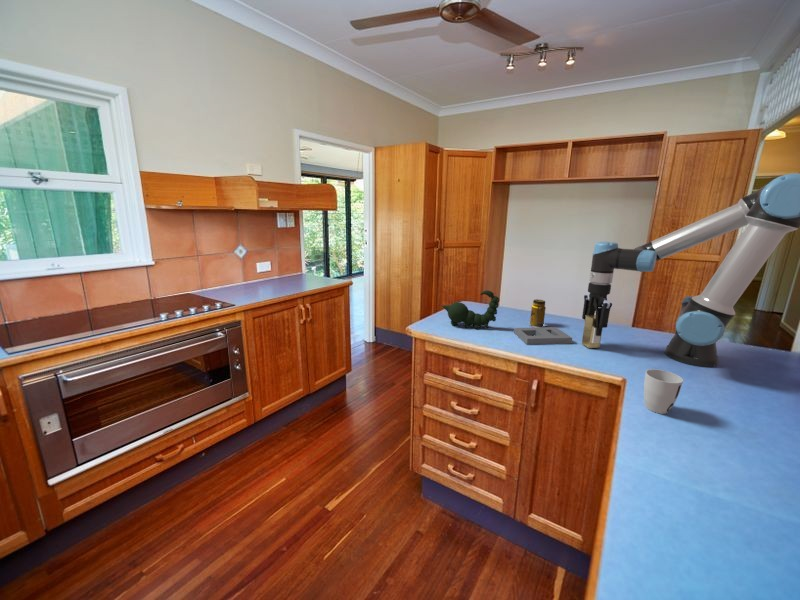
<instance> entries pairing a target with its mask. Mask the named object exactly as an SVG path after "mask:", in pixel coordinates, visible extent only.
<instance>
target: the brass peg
mask: <svg viewBox="0 0 800 600" xmlns="http://www.w3.org/2000/svg"><path fill="white" fill-rule="evenodd" d="M594 326H596V314H594V315H586V318H585V320H584V326H583V333H582V340H581V345H583V346H585V347H587V348H588V349H592V348H593V349H594V348H599V349H600V347H601V339H602V333H603V332H602V333H601V336H600V342H599V343H592V336H593V330H594Z"/></svg>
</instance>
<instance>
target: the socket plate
mask: <svg viewBox="0 0 800 600" xmlns="http://www.w3.org/2000/svg"><path fill="white" fill-rule="evenodd" d="M513 334H514V335H515V336H516V335H517V336H518V337H517V336H516V337H517V338H518V339H520V341H522V342H523V343H524V344H525V345H557V344H558V345H563V344H564V345H566V344H568V345H569V344H572V342H573V337H572V336H570V335H569V334H567V333H566V332H564V331H563V330H561V329H560V328H558V327H556V326H554V327H553V326H552V327H538V328H537V327H535V328H534V327H514V329H513ZM532 335H535V336H532Z"/></svg>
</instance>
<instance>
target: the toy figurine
mask: <svg viewBox="0 0 800 600" xmlns="http://www.w3.org/2000/svg"><path fill="white" fill-rule="evenodd" d="M494 294H495V293H493V292H492V291H491V290H487V289H486V290H483V291H482V292H480V296H482V295H486V296H488V298H490V302H489V303H488V307H487V308H486V311H485V312H484V313H475V311H473V310H471V309H470V310H469V308H468V307H467V305H466V304H464V303H463V302H460V301H457V302H453V303H451V304H450V305H446V304H445V305H441V307H442V308H443V309H444V310H445V311H446V312H447V316H448V318H449V320H450V324H451V325H452V326H453V325H455V326H457V325H458V324H459V323H463V325H464V327H465V328H469V327H470V326H473V328H474V329H475V330H478V329H479V328H480V327H481V326H483V327H484V328H485V329H487V328H488V327H489V323H490V322H491V321H492V322H496V320H497V317H496V315H497V314H498V308H499V302H500V298H499V296H497V295H494Z"/></svg>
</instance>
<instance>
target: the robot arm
mask: <svg viewBox="0 0 800 600" xmlns="http://www.w3.org/2000/svg"><path fill="white" fill-rule="evenodd" d="M743 227H744V229H743V231H742V232H741V233H740V235H739V236H738V238H737V239H736V241H735V243H734V244H733V246H732V247H731V248H730V250H729V252H728V253H727V254H726V256H725V258H724V259H723V261H722V262H721V263H720V265H719V267H718V268H717V270H715V273H714V274H713V275H712V276H711V279H710V280H709V282H708V283H707V285H706V286H705V288H704V289H703V291H702V292H701V293H700V294H699V295H698V294H697V295H695V296H685V297H684V298H682V302H681V307H680V311H679V315H678V317H677V320H676V322H675V332H674V335H673V337H672V338H671V339H670V341H669V343H668V344H667V345H666V347H665V348H664V349H665V351H664V355H666V356H667V357H668V358H670V359H672V360H674V361H677V362H680V363H682V364H687V365H691V366H697V367H705V368H706V367H707V368H709V367H716V366H717V365H718V363H719V362H718V361H719V356H718V351H717V342H718V341H720V339H722V337H723V336H724V333H725V330H726V328H727V326H728V325H729V324H730V322H731V321H732V319H733V318H734V316H735V315H736V311H735V309H734V306H735V304H736V303H737V302H738V301H739V299H740V298H741V296H742V295H743V294H744V292H746V290H747V288H748V287H749V285H750V284H751V283H752V282H753V280H754V278H755V277H756V276H757V274H758V273H759V271H760V270H761V269H762V267H763V266H764V264H765V263H766V262H767V260H768V259H769V257H770V256H771V255H772V254H773V252H774V251H775V249H776V248H777V247H778V245H779V244H780V243H781V241H782V239H784V237H785V236H786V235H787V234H788V233H791V232H794V231H797V230H799V228H800V173H799V172H795V173H794V172H792V173H787V174H783V175H781V176H777V177H776V178H774V179H772V180H771V181H769V182H768V183H766V184H765V185H764V186H762V187H760V188H759V189H758V190H756V191H754V192H752V193H750V194H747V195H745V196H744V197H741V198H739V200H738V202H737V203H735V204H732V205H731V206H729V207H726V208H724V209H722V210H720V211H717V212H715V213H712V214H710V215H708V216H706V217H703V218H701V219H699V220H697V221H694V222H692V223H691V224H688V225H685V226H684V227H683V226H682V227H681V228H679V229H677V230H675V231H672V232H669V233H668V234H666V235H663V236H660V237H658V238H656V239H654V240H652V241H650V242H647V243H645V244H643V245H639V246H637V247H635V248H620V247H619V244H618V243H617V242H613V241H597V242H596V243H595V244H594V247H593V248H594V249H593V252H592V261H591V267H590V274H589V282H588V287H587V292H588V293H589V294H585V295H584V296H583V300H584V302H583V308H582V315H581V317H582V320H584V321H585V318H586V315H596V326H594V330H593V336H592V343H599V342H600V343H601V341H600V336H601V337H602V335H601V333H603V329H604V328H605V329H606V328H608V323H609V317H610V312H611V308H612V306H613V303H612V302H608V298H607V297H608V295H610V294H611V291H612V283H613V277H614V270H624V271H625V270H627V271H633V272H634V271H636V272H640V273H642V272H645V273H646V272H647V273H648V272H649V273H651V272H654V270H655V266H656V262H658V261H660V260H663V259H665V258H668V257H670V256H673V255H675V254H678V253H680V252H682V251H685V250H688V249H690V248H693V247H695V246H698V245H701V244H703V243H705V242H708V241H710V240H714V239H716V238H718V237H720V236H723V235H725V234H728V233H730V232H732V231H736V230H738V229H741V228H743Z"/></svg>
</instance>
